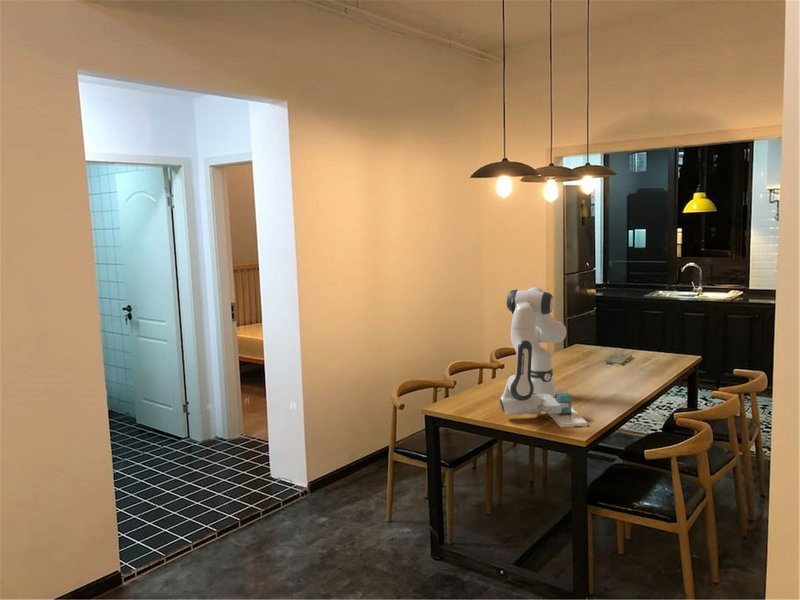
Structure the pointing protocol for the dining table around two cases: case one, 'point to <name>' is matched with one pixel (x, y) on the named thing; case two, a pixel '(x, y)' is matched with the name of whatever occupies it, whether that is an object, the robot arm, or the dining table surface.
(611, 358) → the stone slab
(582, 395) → the dining table surface
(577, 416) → the board
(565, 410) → the block
